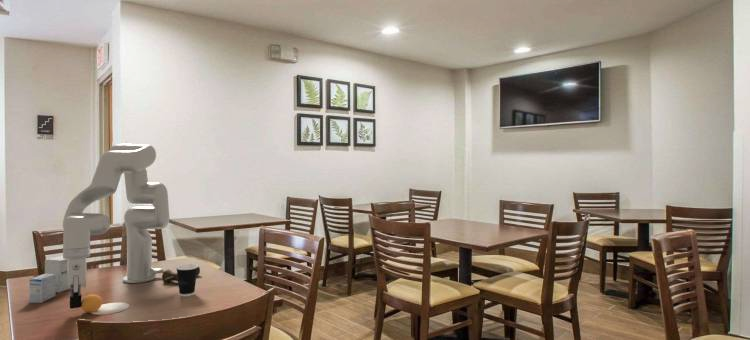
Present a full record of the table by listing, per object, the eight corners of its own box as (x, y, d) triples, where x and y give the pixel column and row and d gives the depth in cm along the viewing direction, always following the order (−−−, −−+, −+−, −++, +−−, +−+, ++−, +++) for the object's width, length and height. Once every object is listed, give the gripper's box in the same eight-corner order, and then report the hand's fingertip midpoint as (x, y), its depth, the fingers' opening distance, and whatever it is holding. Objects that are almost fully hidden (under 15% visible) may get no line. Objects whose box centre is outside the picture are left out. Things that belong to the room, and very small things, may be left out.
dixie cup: (197, 290, 178) (197, 263, 178) (198, 296, 171) (198, 267, 170) (175, 293, 174) (175, 265, 174) (176, 299, 167) (176, 269, 167)
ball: (85, 310, 154) (104, 303, 157) (84, 318, 149) (104, 310, 152) (78, 296, 152) (98, 288, 155) (78, 303, 147) (98, 295, 150)
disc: (127, 301, 164) (127, 300, 164) (130, 310, 154) (130, 310, 154) (88, 306, 157) (88, 306, 157) (89, 317, 147) (89, 316, 147)
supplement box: (59, 292, 173) (59, 260, 172) (44, 291, 174) (43, 259, 174) (76, 287, 180) (76, 256, 180) (60, 286, 181) (60, 255, 181)
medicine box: (43, 296, 168) (43, 273, 168) (55, 296, 168) (55, 273, 168) (29, 303, 160) (28, 279, 160) (42, 303, 161) (42, 279, 160)
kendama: (205, 277, 200) (174, 288, 181) (186, 276, 203) (154, 286, 184) (205, 263, 201) (174, 273, 181) (186, 262, 203) (154, 272, 184)
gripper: (90, 255, 145) (89, 311, 145) (89, 248, 158) (88, 300, 158) (62, 257, 141) (61, 315, 141) (63, 250, 154) (62, 303, 153)
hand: (75, 307), depth 149 cm, fingers closed
